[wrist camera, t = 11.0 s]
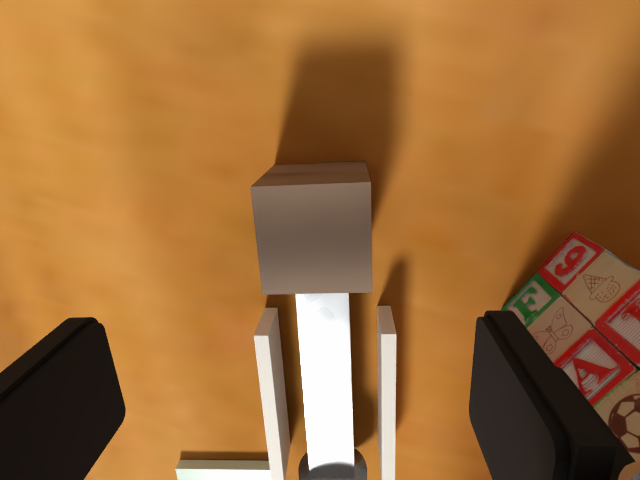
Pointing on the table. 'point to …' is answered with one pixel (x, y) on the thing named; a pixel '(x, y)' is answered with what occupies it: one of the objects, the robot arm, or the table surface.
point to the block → (314, 228)
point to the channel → (276, 394)
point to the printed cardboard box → (590, 328)
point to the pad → (223, 470)
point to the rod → (327, 388)
